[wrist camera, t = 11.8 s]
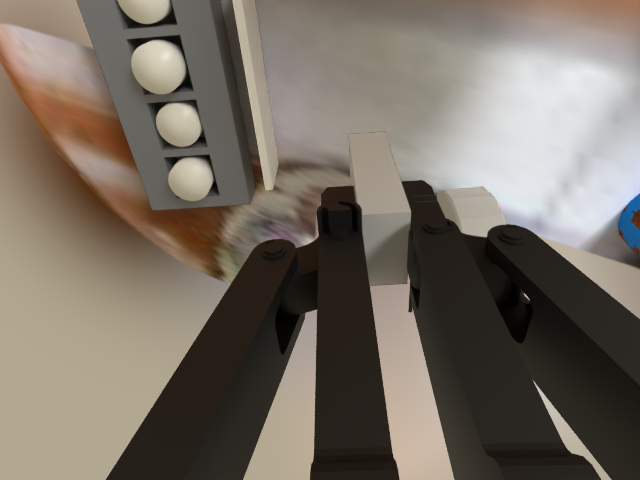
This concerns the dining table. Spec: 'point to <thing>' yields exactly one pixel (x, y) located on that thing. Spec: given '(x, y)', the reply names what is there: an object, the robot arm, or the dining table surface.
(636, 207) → the thermos
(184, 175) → the button
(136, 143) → the board
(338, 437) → the robot arm
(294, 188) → the dining table surface
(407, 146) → the dining table surface
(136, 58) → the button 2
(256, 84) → the card
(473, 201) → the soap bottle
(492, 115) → the dining table surface
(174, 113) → the button
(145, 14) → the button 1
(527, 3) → the dining table surface
